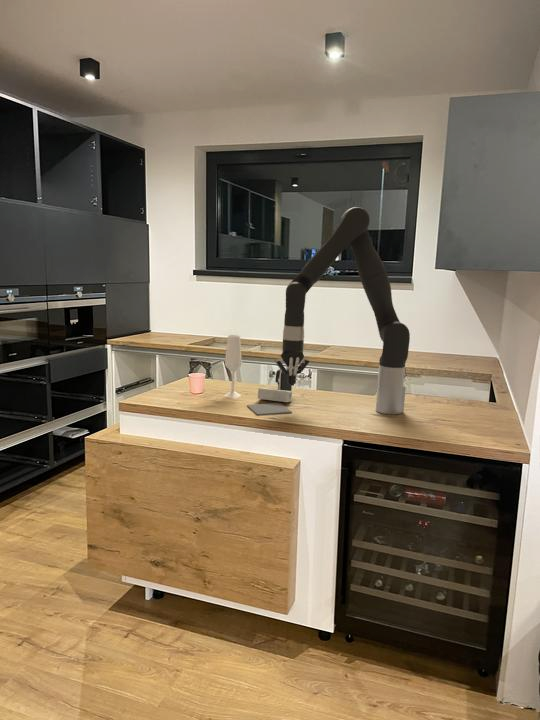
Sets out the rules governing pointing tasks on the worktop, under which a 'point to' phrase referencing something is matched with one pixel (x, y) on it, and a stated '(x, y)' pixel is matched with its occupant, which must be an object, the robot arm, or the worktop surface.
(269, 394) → the skincare box
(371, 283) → the robot arm
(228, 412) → the worktop surface
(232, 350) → the champagne flute
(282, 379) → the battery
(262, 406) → the mat
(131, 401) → the worktop surface
